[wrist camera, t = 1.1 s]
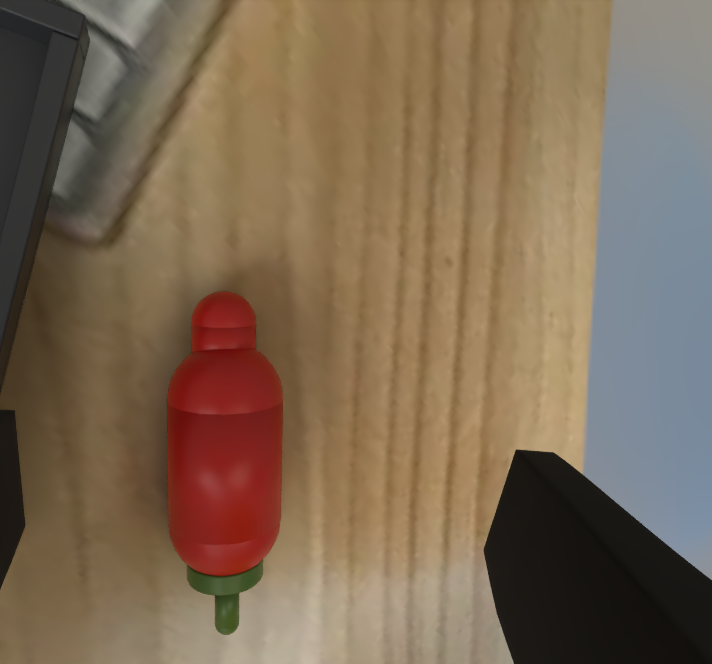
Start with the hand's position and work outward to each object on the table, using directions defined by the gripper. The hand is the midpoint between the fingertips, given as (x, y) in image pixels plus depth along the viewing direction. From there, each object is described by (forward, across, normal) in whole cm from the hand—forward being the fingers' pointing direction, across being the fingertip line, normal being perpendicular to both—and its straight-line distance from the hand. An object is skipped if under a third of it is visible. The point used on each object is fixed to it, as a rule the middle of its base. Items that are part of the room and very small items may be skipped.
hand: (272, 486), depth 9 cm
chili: (+9, +1, +6) cm, 11 cm away
